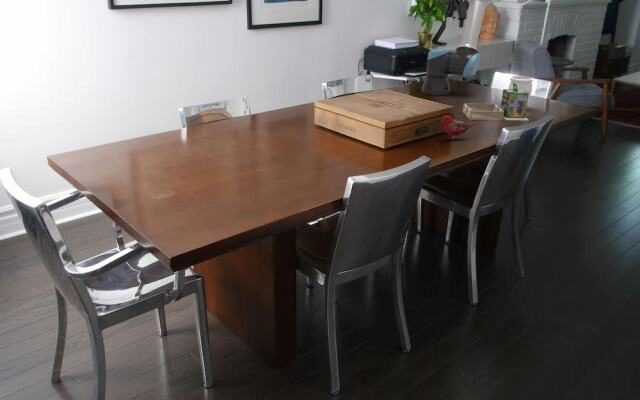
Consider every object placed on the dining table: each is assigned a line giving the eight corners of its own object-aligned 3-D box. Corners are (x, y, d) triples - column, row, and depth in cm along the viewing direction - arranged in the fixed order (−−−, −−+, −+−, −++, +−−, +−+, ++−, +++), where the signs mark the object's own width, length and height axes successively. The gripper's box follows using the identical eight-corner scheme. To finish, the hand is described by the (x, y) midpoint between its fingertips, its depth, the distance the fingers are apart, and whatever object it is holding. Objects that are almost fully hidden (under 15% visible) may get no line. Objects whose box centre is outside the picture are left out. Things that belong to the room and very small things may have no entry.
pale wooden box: (462, 111, 251) (463, 103, 249) (493, 112, 251) (494, 103, 249) (469, 119, 238) (471, 111, 236) (502, 120, 237) (504, 111, 236)
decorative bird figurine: (436, 139, 210) (438, 114, 206) (475, 136, 215) (478, 112, 211) (439, 141, 208) (442, 116, 204) (479, 138, 212) (482, 113, 208)
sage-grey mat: (497, 112, 250) (497, 111, 250) (518, 112, 250) (518, 111, 250) (506, 120, 238) (506, 119, 237) (528, 120, 237) (528, 119, 237)
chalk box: (525, 118, 240) (531, 85, 234) (505, 117, 240) (510, 85, 234) (518, 113, 248) (523, 81, 242) (499, 112, 248) (503, 81, 242)
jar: (504, 109, 255) (509, 78, 249) (506, 105, 264) (511, 75, 258) (528, 112, 252) (533, 80, 246) (528, 107, 260) (534, 76, 254)
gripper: (441, -17, 250) (436, 30, 259) (461, -15, 228) (456, 36, 236) (456, -17, 251) (451, 30, 260) (478, -15, 229) (472, 36, 237)
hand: (453, 33), depth 248 cm, fingers open, 13 cm apart
